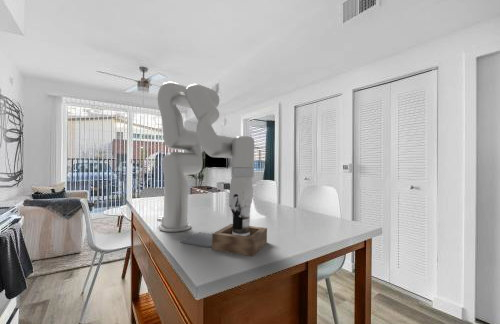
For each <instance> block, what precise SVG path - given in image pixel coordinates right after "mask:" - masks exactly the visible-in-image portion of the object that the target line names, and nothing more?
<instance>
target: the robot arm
mask: <svg viewBox="0 0 500 324" xmlns="http://www.w3.org/2000/svg"><path fill="white" fill-rule="evenodd" d="M157 105H158V110H159V112H160V116H161V124H162V134H163V135H162V136H163V142H164V145H165V147H166V148H168V149H171V150H175V151H172V152H168V153H167V154H165V155H164V156H163V158H162V162H161V165H162V170H163V177H164V178H163V179H164V180H163V181H164V182H163V183H164V186H163V187H164V188H163V189H164V193H163V195H164V197H163V215H160V216H159V217H158V218H157V219H156V221H157V222H160V223H161V224H160V225H159V227H158V228H159V230H160V231H162V232H168V233H175V232H176V233H177V232H183V231H188V230H190V229H191V228H192V224H191V223H190V222H188V215H189V214H188V213H189V210H188V209H189V207H188V204H189V203H188V202H189V183H188V179H187V178H186V176H187V175H197V174H199V173H200V172H202V169H203V152H205V154H206V155H208V156H209V157H211V158H224V159H231V171H230V172H231V173H230V174H231V175H230V177H231V179H230V185H229V192H228V193H229V194H228V206H229V208H230V210H231V213H232V224H233V229H238V230H242V224H243V217H241V216H242V208H244V207H245V202H246V200H247V198H248V197H249V198H250V200H251V204H253V178H255V173H254V172H255V170H254V167H255V139H254V138H253V137H252V136H250V135H249V136H248V135H236V136H234V137H231V136H225V135H218V134H217V132H216V131H215V129H214V128H213V126H212V124H215V123H216V122H217V121H218V119H219V118H220V112H219V110H218V107H219V105H220V96H219V93H218V92H217V91H216V90H214V89H212V88H209V87H208V86H205V85H202V84H199V83H193V84H189V85H188V86H187V85H184V84H181V83H177V82H173V81H167V82H163V83H162V84H161V86H160V87H159V90H158V92H157ZM177 105H178V106H182V107H185V108H189V109H191V110H192V112H193V114H194V116H195V118H196V120H197V124H196V128H195V129H196V130H193V129H189V128H185V126H184V120H183V116H182V112H181V111H180V110H179V108H178V106H177ZM202 149H203V151H202ZM177 150H179V151H177ZM180 151H182V152H180ZM183 151H184V152H183ZM237 204H239V205H240V207H236V206H237ZM237 209H240V210H239V211H238V210H237ZM250 216H251V215H250V214H249V220H250Z"/></svg>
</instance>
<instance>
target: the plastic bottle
mask: <svg viewBox="0 0 500 324" xmlns="http://www.w3.org/2000/svg"><path fill="white" fill-rule="evenodd" d="M251 206H252V203H251V200H250V198H249V197H248V198H247V200H246V202H245V207H244V208H242V216H241V217H243V224H242V230H238V229H233V231H232V234H233V235H240V236H247V237H250V230H249V226H250V219H249V214H250V213H251ZM236 207H240V205H239V204H237V206H236ZM237 210H238V211H239V210H240V209H237Z"/></svg>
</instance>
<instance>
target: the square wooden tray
mask: <svg viewBox="0 0 500 324" xmlns="http://www.w3.org/2000/svg"><path fill="white" fill-rule="evenodd" d="M249 230H250V237H247V236H240V235H233V234H232V231H233V223H229V224H228V225H225V226H224V227H222V228H220V229H218V230H216V231H214V232H212V233H211V234H212V247H211V250H212V251H213V250H215V251H220V252H225V253H226V252H227V253H231V254H237V255H243V256H244V255H245V256H248V257H249V256H250V257H254V256H255V255H256V254H257V253H258V252H259V251H260V250H261V249H262V248H263V247H264V246H265V245H266V244H267V243H266V242H268V227H259V226H252V225H249ZM265 243H266V244H265ZM264 244H265V245H264Z"/></svg>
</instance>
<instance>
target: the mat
mask: <svg viewBox="0 0 500 324" xmlns="http://www.w3.org/2000/svg"><path fill="white" fill-rule="evenodd" d="M212 234H213V233H207V232H203V231H199V232H196V233H195V234H193V235H191V236H189V237H186V238H184V239H181V240H180V243H181V244H187V245H192V246H199V247H203V248H204V247H205V248H210V249H212Z"/></svg>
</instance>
